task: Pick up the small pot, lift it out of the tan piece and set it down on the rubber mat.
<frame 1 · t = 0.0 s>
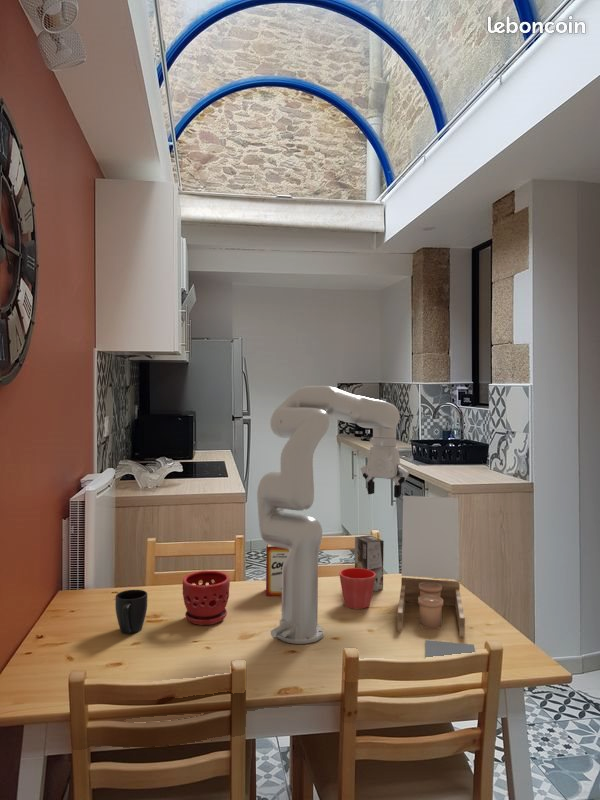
hand: (384, 495, 188), 31 cm above the table, tool pointing down, fingers open, 9 cm apart
frame lid: (430, 536, 183), point 19 cm above the table, hinge at 108.0°
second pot: (430, 608, 173), resting in tan piece
coffee box: (368, 587, 193), on the table
rubber mat: (450, 653, 142), on the table
flower pot: (357, 605, 175), on the table
small pot: (430, 624, 160), on the table
tan piece: (430, 617, 165), on the table
plant pot: (205, 620, 162), on the table
mug: (129, 633, 153), on the table
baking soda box: (281, 593, 186), on the table
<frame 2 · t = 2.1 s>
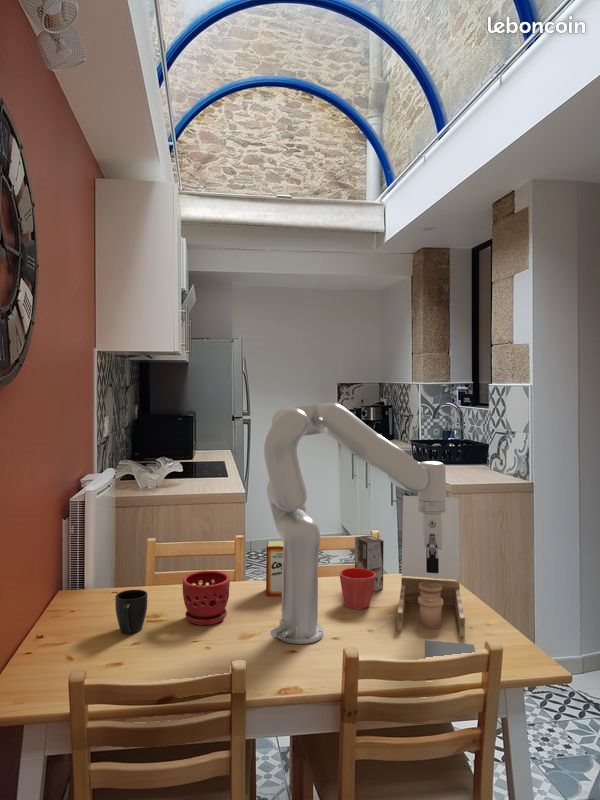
hand: (432, 567, 161), 16 cm above the table, tool pointing down, fingers open, 9 cm apart
nothing on the table moved.
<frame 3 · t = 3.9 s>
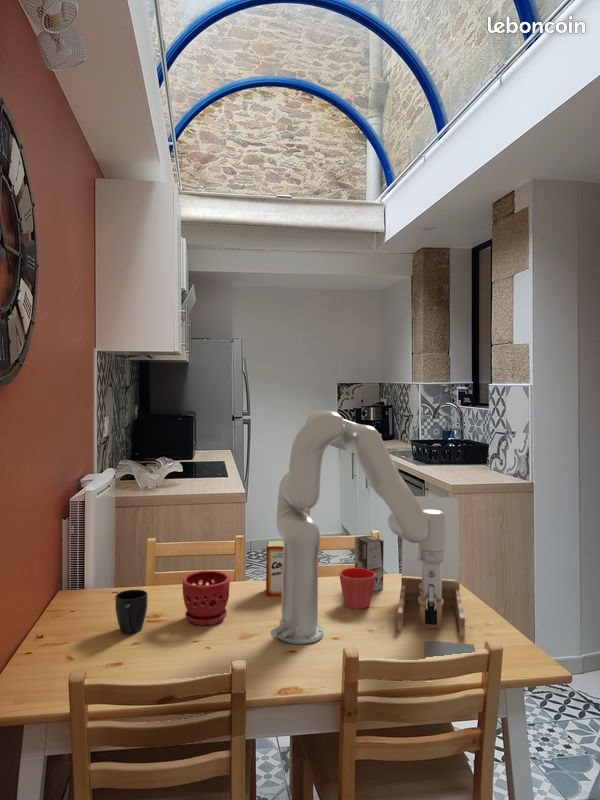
hand: (430, 618, 160), 2 cm above the table, tool pointing down, fingers closed on small pot, 6 cm apart
small pot: (430, 624, 160), on the table, touching gripper
everything else where it was.
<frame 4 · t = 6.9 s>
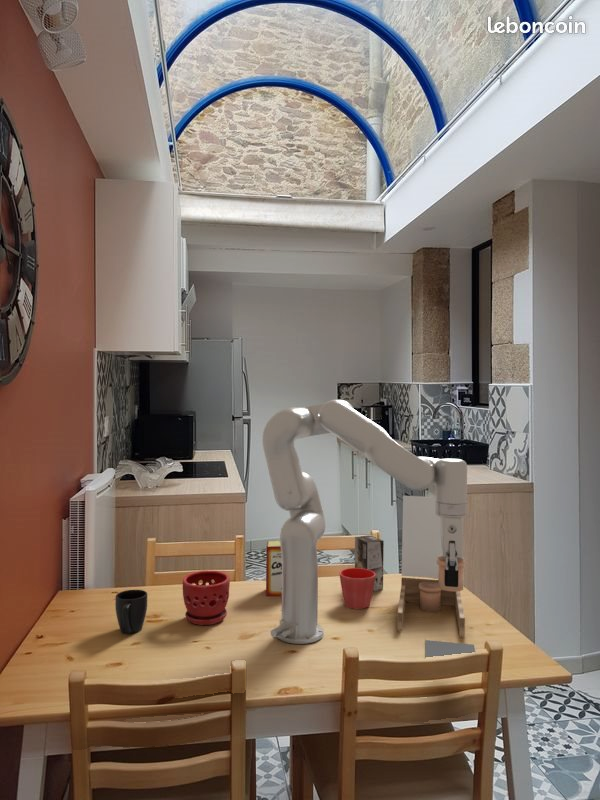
hand: (450, 581, 142), 18 cm above the table, tool pointing down, fingers closed on small pot, 6 cm apart
small pot: (450, 587, 142), point 16 cm above the table, touching gripper
everything else where it was.
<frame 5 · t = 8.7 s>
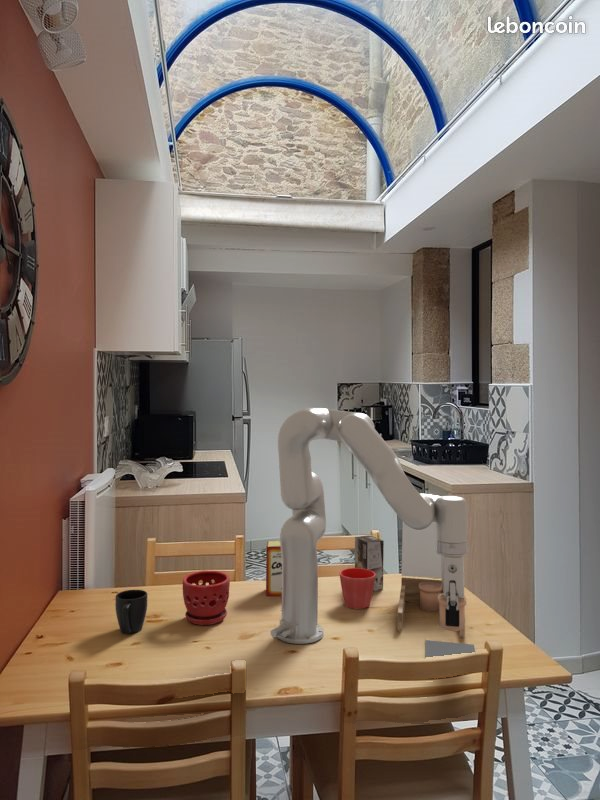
hand: (451, 619, 142), 8 cm above the table, tool pointing down, fingers closed on small pot, 6 cm apart
small pot: (452, 626, 142), point 7 cm above the table, touching gripper
everything else where it was.
when the fingers open (3 cm above the table, at t = 10.3 s): small pot drops 1 cm, resting on rubber mat.
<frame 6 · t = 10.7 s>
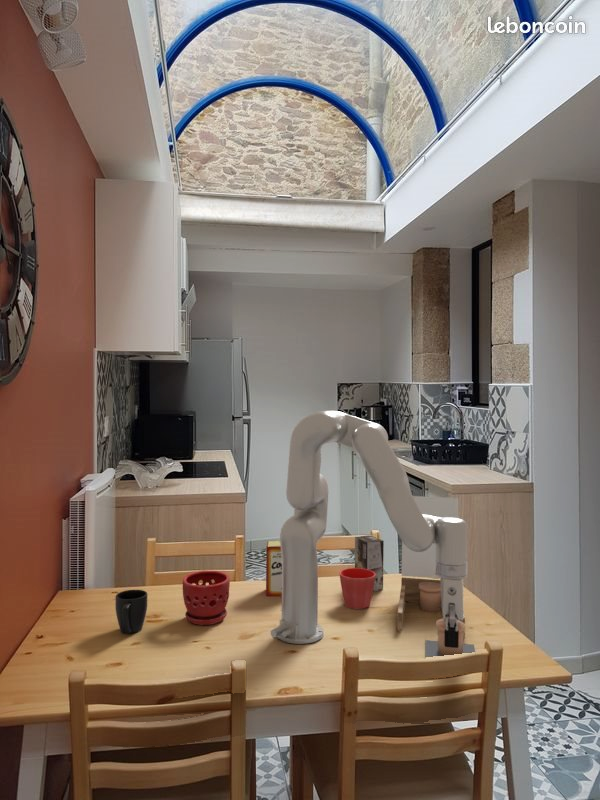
hand: (450, 638, 142), 4 cm above the table, tool pointing down, fingers open, 9 cm apart
small pot: (450, 652, 142), resting on rubber mat
everything else where it was.
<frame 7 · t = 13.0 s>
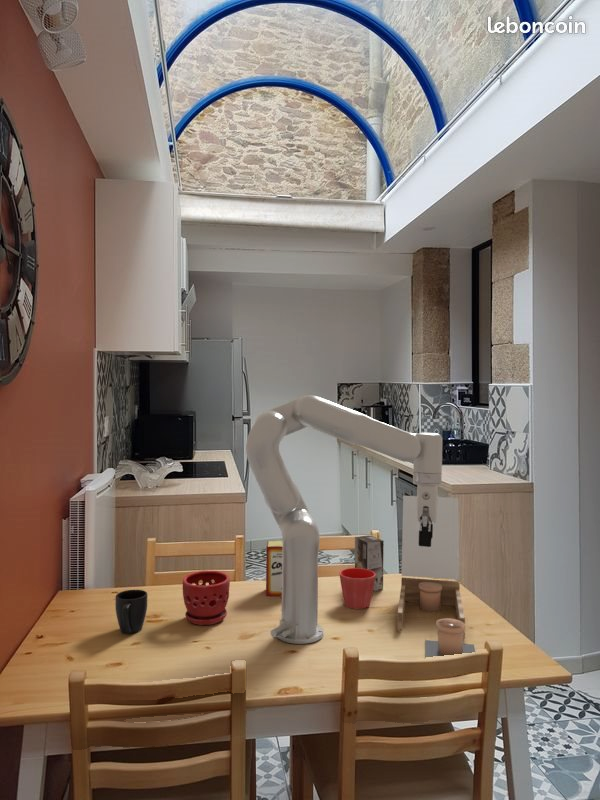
hand: (425, 542, 156), 24 cm above the table, tool pointing down, fingers open, 9 cm apart
nothing on the table moved.
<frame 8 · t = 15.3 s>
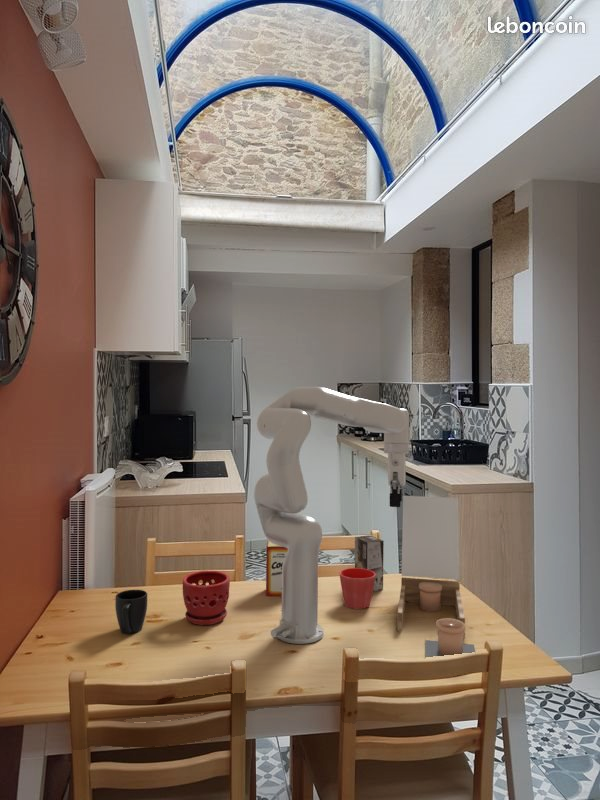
hand: (395, 503, 178), 30 cm above the table, tool pointing down, fingers open, 9 cm apart
nothing on the table moved.
at the end: small pot inside the target area on the rubber mat (0.0 cm from its centre), point 0.4 cm above the rubber mat's base; small pot tilted 0°; the gripper is holding nothing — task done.
